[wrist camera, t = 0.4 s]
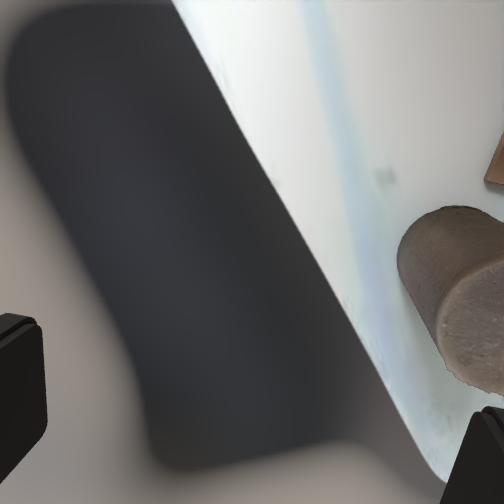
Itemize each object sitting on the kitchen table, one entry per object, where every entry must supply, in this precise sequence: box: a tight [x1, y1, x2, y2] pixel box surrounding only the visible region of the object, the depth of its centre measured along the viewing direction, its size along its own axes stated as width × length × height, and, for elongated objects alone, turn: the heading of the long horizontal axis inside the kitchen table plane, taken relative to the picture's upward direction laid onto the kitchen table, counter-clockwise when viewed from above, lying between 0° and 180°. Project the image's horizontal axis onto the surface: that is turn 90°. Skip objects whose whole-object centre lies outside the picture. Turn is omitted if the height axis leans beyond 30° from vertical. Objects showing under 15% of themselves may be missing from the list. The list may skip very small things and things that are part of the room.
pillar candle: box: [397, 206, 504, 396], centre depth 29 cm, size 10×10×15 cm
